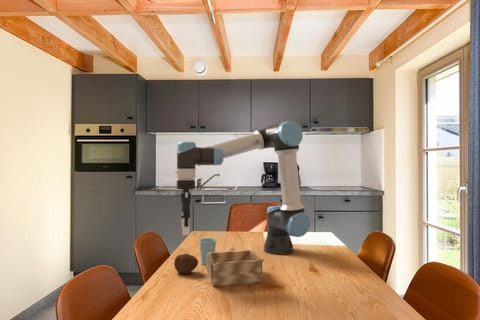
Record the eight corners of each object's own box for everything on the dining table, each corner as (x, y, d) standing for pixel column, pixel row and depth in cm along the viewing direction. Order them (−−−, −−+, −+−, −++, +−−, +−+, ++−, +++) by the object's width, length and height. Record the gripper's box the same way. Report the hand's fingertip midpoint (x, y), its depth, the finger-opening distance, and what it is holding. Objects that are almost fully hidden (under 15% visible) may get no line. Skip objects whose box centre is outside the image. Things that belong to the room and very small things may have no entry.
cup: (218, 264, 139) (218, 241, 139) (202, 267, 136) (201, 242, 136) (213, 259, 146) (212, 237, 146) (197, 262, 143) (197, 239, 143)
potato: (176, 270, 132) (176, 251, 132) (199, 270, 131) (199, 251, 132) (172, 276, 124) (172, 256, 124) (196, 276, 124) (196, 256, 124)
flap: (260, 260, 116) (264, 259, 111) (260, 262, 116) (264, 260, 111) (214, 263, 113) (216, 262, 107) (214, 265, 112) (216, 264, 107)
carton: (251, 268, 133) (251, 249, 134) (262, 282, 117) (262, 261, 117) (206, 271, 129) (206, 252, 130) (210, 287, 113) (210, 265, 113)
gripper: (176, 178, 140) (175, 225, 139) (177, 180, 116) (176, 238, 115) (193, 178, 141) (192, 225, 141) (197, 180, 117) (196, 237, 117)
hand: (185, 231), depth 128 cm, fingers open, 13 cm apart
